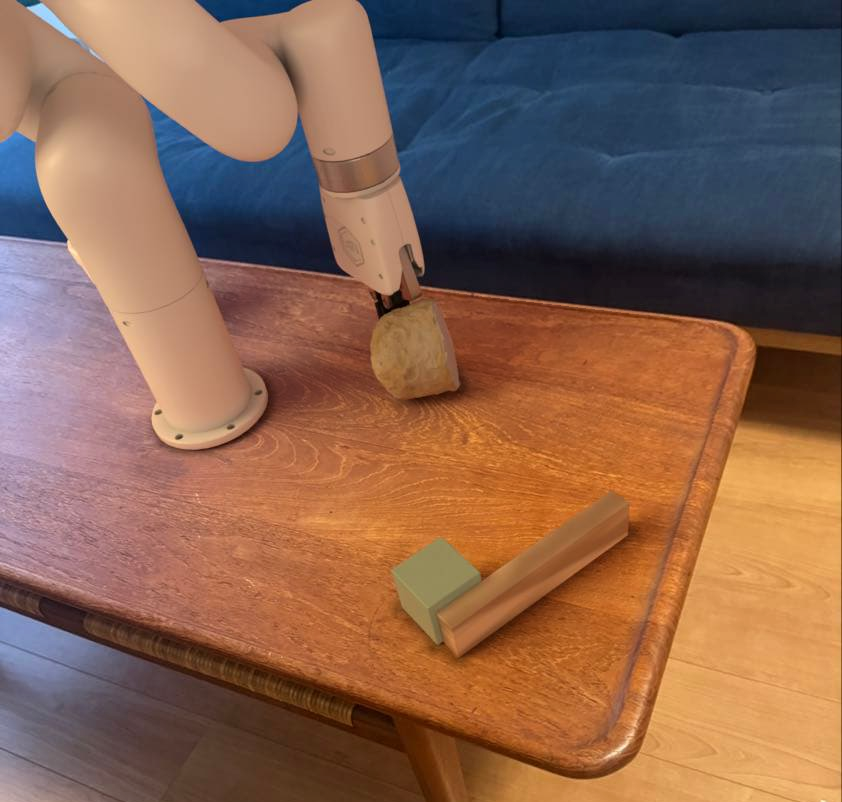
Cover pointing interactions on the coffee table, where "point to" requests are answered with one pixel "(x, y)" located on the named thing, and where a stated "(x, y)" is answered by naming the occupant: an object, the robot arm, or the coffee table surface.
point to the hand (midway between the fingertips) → (399, 330)
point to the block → (433, 583)
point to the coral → (414, 352)
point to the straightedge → (533, 573)
